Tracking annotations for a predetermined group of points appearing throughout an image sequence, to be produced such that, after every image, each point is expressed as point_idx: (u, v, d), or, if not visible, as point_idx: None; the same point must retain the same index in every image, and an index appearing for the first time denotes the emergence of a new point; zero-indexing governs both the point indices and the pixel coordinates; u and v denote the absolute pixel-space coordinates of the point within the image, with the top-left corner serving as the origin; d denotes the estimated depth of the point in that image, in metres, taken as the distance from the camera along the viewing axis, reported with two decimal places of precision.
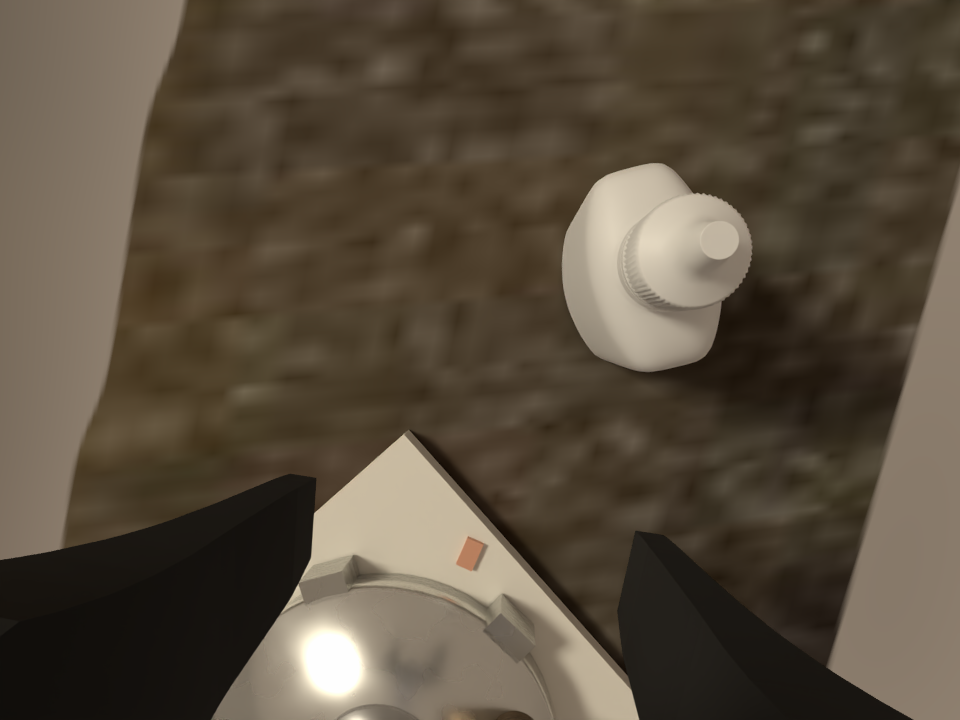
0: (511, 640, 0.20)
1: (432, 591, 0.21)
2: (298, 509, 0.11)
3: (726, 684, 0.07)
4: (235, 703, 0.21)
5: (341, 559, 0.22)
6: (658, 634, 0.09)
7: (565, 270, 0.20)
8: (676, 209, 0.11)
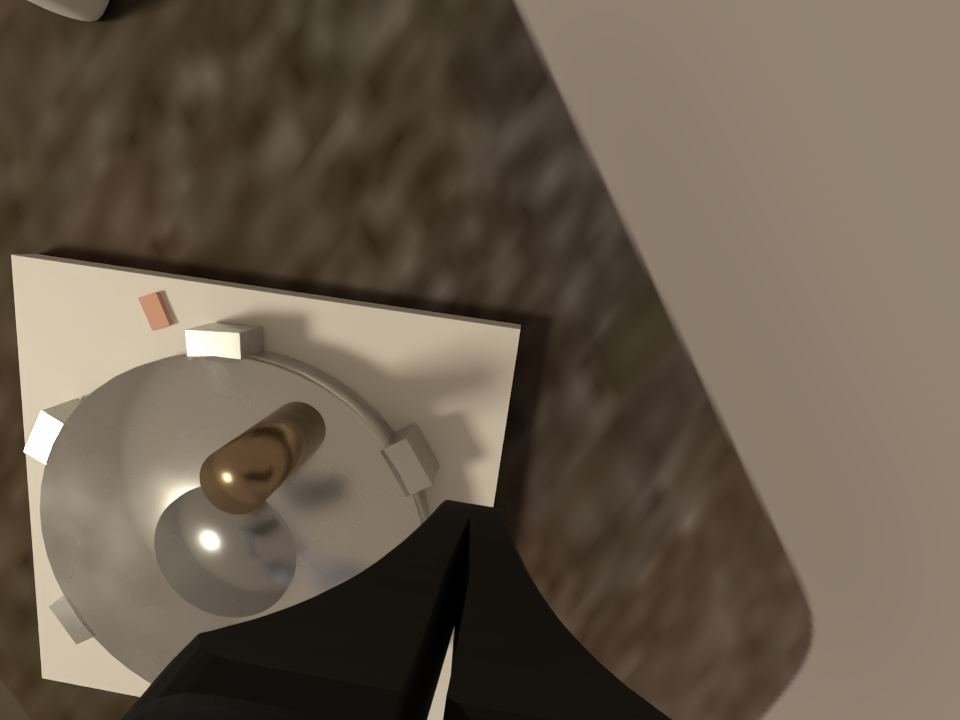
0: (217, 346, 0.17)
1: None
2: (467, 537, 0.11)
3: None
4: (83, 591, 0.20)
5: None
6: (461, 600, 0.10)
7: None
8: None
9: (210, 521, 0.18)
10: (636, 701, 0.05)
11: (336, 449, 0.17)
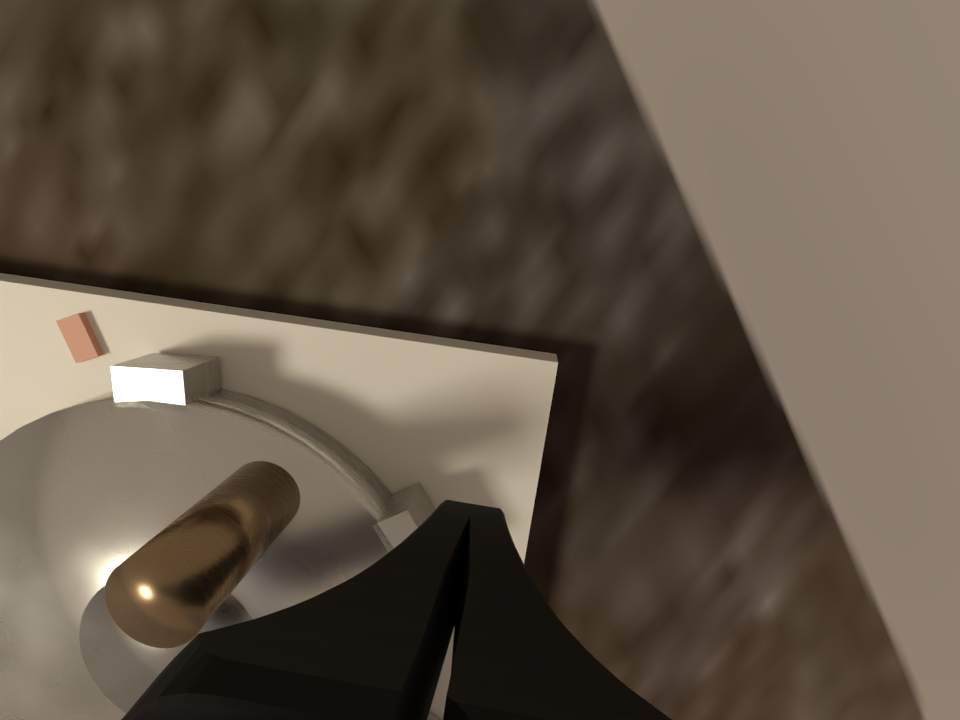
0: (154, 388, 0.13)
1: None
2: (466, 537, 0.11)
3: None
4: None
5: None
6: (461, 600, 0.10)
7: None
8: None
9: None
10: (636, 701, 0.05)
11: (314, 523, 0.13)
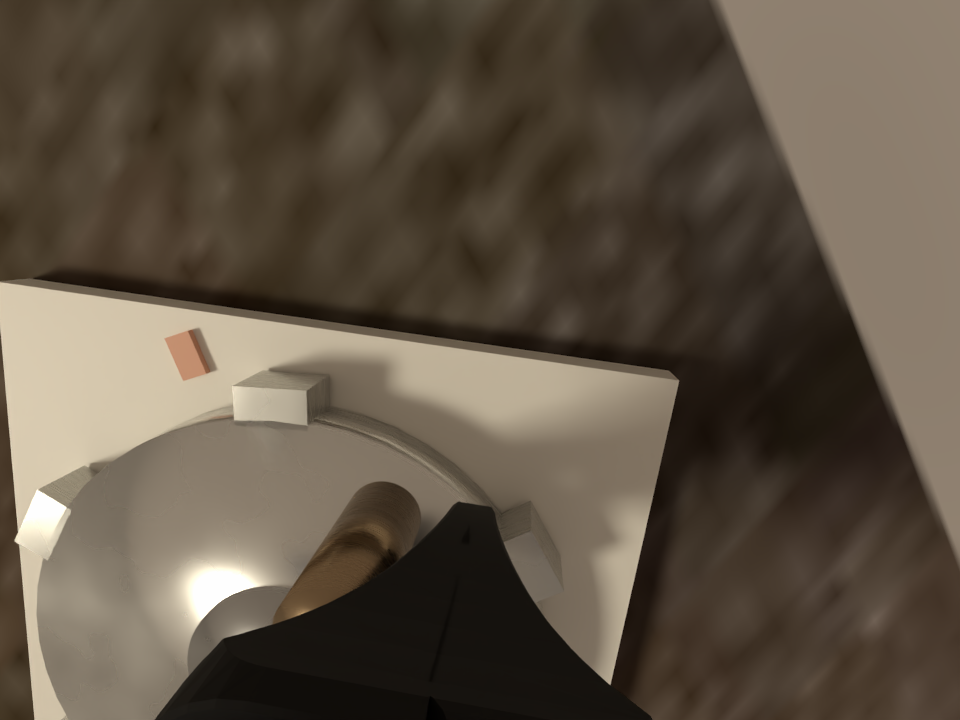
0: (275, 408, 0.13)
1: (167, 431, 0.14)
2: None
3: None
4: (94, 715, 0.15)
5: None
6: None
7: None
8: None
9: None
10: (615, 697, 0.05)
11: None
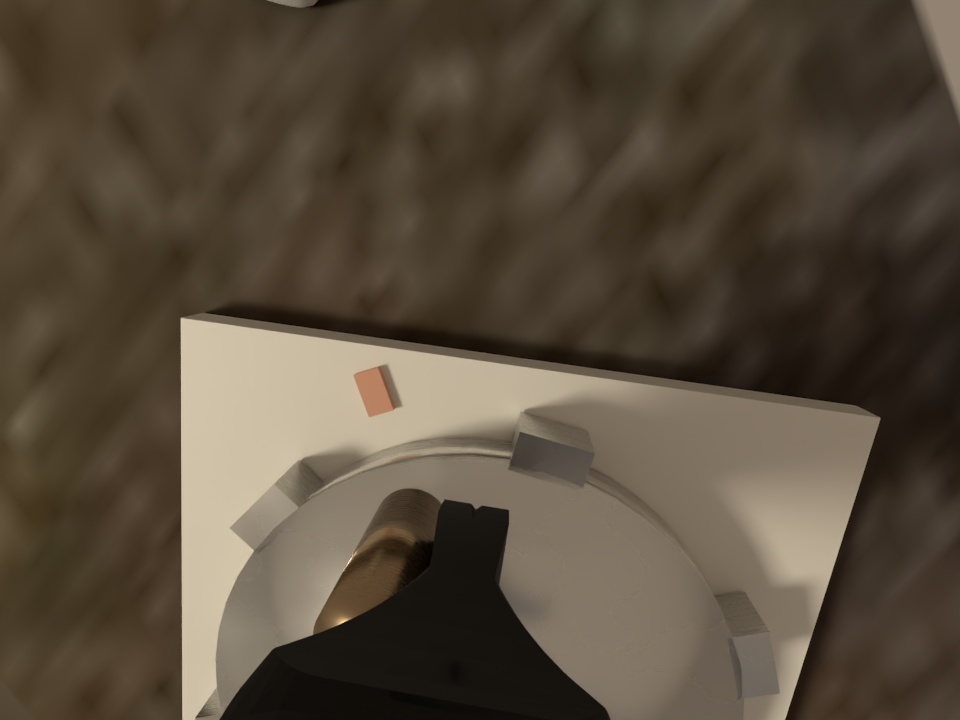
0: (269, 516, 0.13)
1: None
2: (505, 544, 0.11)
3: None
4: None
5: None
6: None
7: None
8: None
9: None
10: (573, 690, 0.05)
11: None
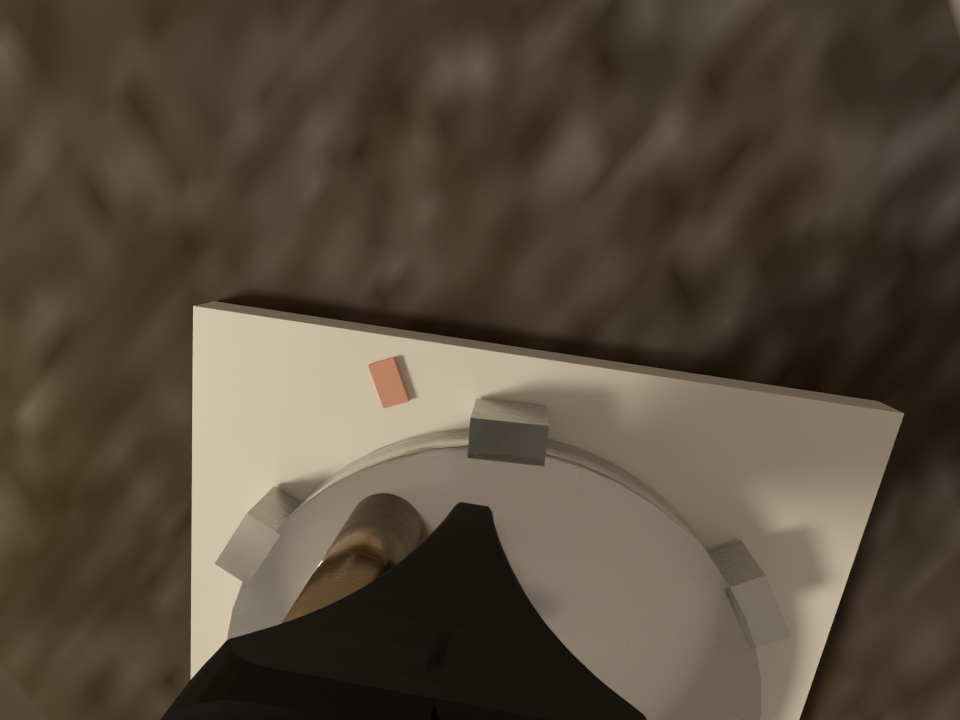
0: (249, 545, 0.14)
1: None
2: None
3: None
4: None
5: None
6: None
7: None
8: None
9: None
10: (610, 696, 0.05)
11: (436, 504, 0.13)
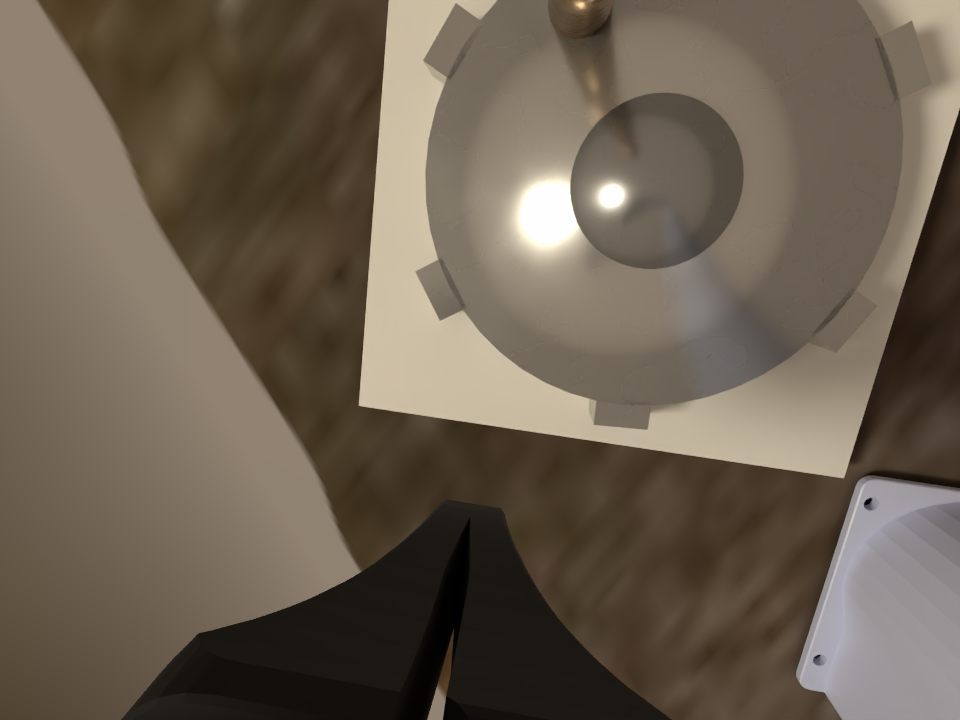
0: (455, 38, 0.16)
1: None
2: (466, 537, 0.11)
3: None
4: (600, 376, 0.18)
5: None
6: (461, 600, 0.10)
7: None
8: None
9: (614, 170, 0.16)
10: (636, 701, 0.05)
11: None
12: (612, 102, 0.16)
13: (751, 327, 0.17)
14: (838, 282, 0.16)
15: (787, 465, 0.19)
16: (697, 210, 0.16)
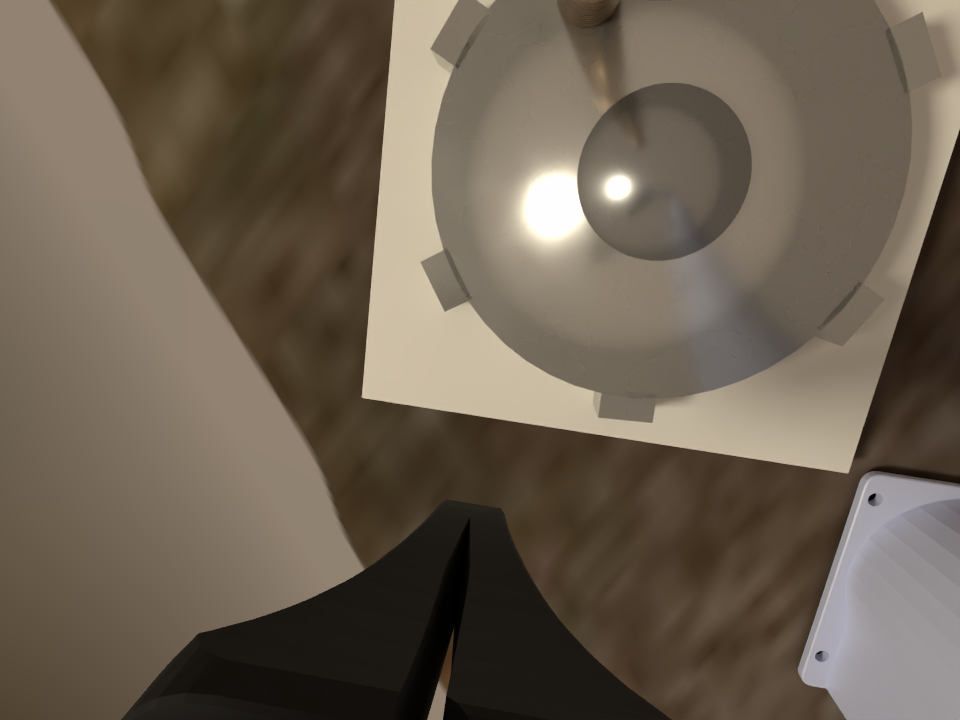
0: (463, 26, 0.16)
1: None
2: (466, 538, 0.11)
3: None
4: (605, 368, 0.18)
5: None
6: (461, 600, 0.10)
7: None
8: None
9: (621, 160, 0.16)
10: (636, 701, 0.05)
11: None
12: (620, 92, 0.16)
13: (757, 320, 0.17)
14: (845, 275, 0.16)
15: (791, 460, 0.19)
16: (704, 201, 0.16)
